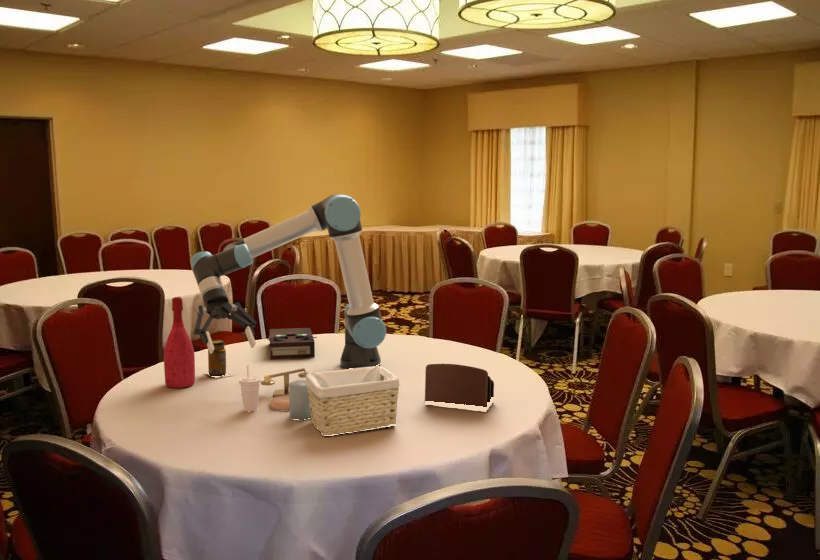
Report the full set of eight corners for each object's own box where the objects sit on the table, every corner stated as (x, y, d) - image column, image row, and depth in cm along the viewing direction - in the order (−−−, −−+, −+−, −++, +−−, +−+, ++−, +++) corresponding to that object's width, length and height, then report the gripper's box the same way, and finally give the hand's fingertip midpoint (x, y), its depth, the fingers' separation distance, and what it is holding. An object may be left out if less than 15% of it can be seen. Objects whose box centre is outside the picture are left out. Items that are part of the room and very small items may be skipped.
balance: (312, 392, 234) (312, 366, 233) (311, 396, 229) (311, 370, 228) (262, 392, 234) (261, 366, 232) (259, 397, 229) (259, 370, 227)
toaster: (486, 413, 216) (487, 368, 213) (424, 406, 222) (424, 362, 220) (493, 403, 225) (495, 360, 223) (433, 396, 231) (434, 354, 229)
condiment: (222, 370, 258) (221, 338, 257) (233, 376, 252) (232, 342, 250) (203, 374, 254) (202, 341, 252) (213, 379, 247) (212, 345, 246)
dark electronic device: (312, 324, 304) (318, 340, 275) (312, 341, 305) (318, 359, 276) (266, 326, 300) (267, 342, 271) (266, 343, 301) (267, 362, 272)
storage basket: (318, 440, 193) (318, 387, 190) (304, 421, 207) (303, 371, 205) (401, 429, 202) (401, 378, 199) (381, 411, 216) (382, 364, 214)
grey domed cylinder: (314, 412, 215) (314, 380, 213) (312, 420, 208) (312, 387, 206) (291, 412, 214) (290, 380, 213) (288, 420, 207) (287, 387, 206)
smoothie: (241, 406, 219) (240, 362, 217) (262, 406, 220) (261, 362, 218) (238, 413, 213) (236, 368, 211) (260, 413, 213) (259, 367, 211)
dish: (310, 398, 228) (310, 394, 228) (306, 410, 216) (306, 406, 216) (272, 398, 227) (272, 394, 227) (266, 410, 215) (266, 406, 215)
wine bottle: (201, 383, 243) (198, 296, 239) (181, 390, 234) (177, 300, 230) (179, 379, 247) (176, 293, 243) (158, 386, 238) (154, 298, 234)
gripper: (246, 297, 242) (266, 349, 232) (172, 304, 227) (191, 360, 218) (252, 283, 237) (273, 336, 227) (178, 290, 222) (197, 346, 213)
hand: (233, 348), depth 222 cm, fingers open, 13 cm apart
